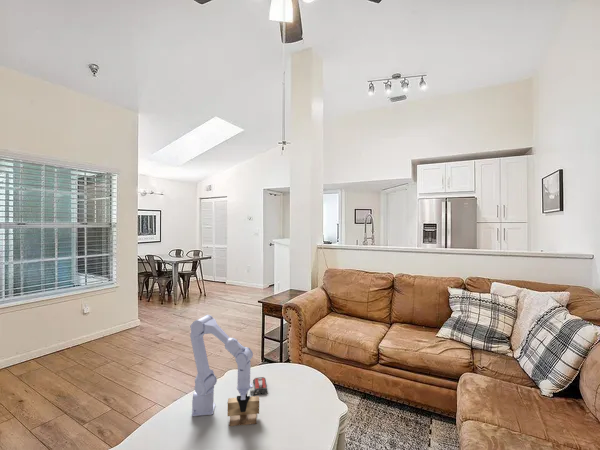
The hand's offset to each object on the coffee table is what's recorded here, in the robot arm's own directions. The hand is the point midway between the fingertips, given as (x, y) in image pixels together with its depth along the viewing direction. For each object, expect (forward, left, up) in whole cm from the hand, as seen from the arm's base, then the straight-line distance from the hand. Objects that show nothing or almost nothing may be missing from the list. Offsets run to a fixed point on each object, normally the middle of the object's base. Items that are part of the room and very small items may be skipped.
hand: (243, 406), depth 132 cm
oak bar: (0, 0, -3) cm, 3 cm away
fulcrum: (0, 0, -6) cm, 6 cm away
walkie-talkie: (+7, +21, -7) cm, 23 cm away
